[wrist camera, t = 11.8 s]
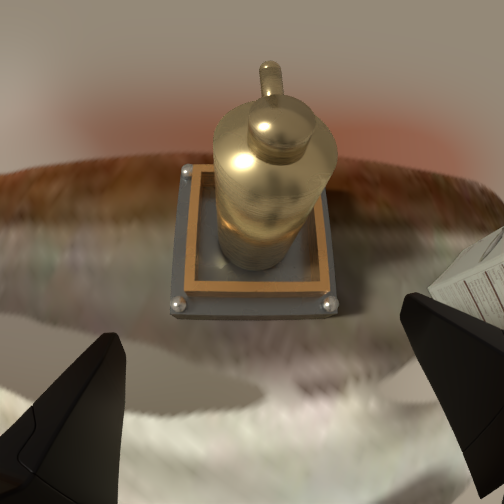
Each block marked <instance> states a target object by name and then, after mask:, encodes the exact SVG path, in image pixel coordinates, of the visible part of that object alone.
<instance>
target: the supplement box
mask: <svg viewBox="0 0 504 504" xmlns="http://www.w3.org/2000/svg"><path fill="white" fill-rule="evenodd" d="M428 290H429V292H430V294H431V296H432V298H433V299H434V300H436V301H439V302H441V303H443V304H446V305H448V306H450V307H453V308H455V309H457V310H460V311H462V312H464V313H467V314H469V315H471V316H473V317H476V318H478V319H480V320H483V321H485V322H487V323H489V324H492V325H494V326H496V327H498V328H500V329H503V330H504V226H503V227H502V228H500V229H498V230H497V231H495V232H493V233H492V234H490V235H488V236H487V237H485V238H483V239H481V240H480V241H478V242H476V243H474V244H472V245H471V246H469V247H467V248H465V249H464V250H463V251H462V252H461V253H460V255H459V256H458V257H457V258H456V260H455V261H454V262H453V263H452V264H451V265H450V266H449V267H448V268H447V270H446V271H445V272H444V273H443V274H442V275H441V276H440V277H439V278H438V279H437V280H436V281H435V282H434V283H432V284H431V285H430V286H429V287H428Z"/></svg>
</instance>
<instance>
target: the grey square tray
mask: <svg viewBox="0 0 504 504" xmlns="http://www.w3.org/2000/svg"><path fill="white" fill-rule="evenodd" d="M338 306H339V301H338V299H337V295H336V282H335V270H334V259H333V248H332V239H331V230H330V221H329V213H328V205H327V198H326V190H325V187H324V189H323V191H322V193H321V195H320V196H319V198H318V200H317V202H316V203H315V205H314V207H313V209H312V210H311V212H310V214H309V216H308V217H307V219H306V221H305V223H304V224H303V226H302V228H301V230H300V231H299V233H298V235H297V237H296V238H295V240H294V242H293V243H292V245H291V247H290V249H289V250H288V252H287V254H286V255H285V257H284V258H283V259H282V260H281V261H280V262H279V263H278V264H276V265H275V266H273V267H271V268H268V269H265V270H258V271H253V270H247V269H243V268H240V267H238V266H236V265H235V264H233V263H232V262H231V261H230V260H228V258H227V257H226V256H225V255H224V253H223V252H222V250H221V248H220V245H219V240H218V227H217V210H216V193H215V174H214V165H192V164H186V165H184V166H183V167H182V169H181V179H180V187H179V196H178V206H177V216H176V226H175V238H174V250H173V265H172V281H171V301H170V314H171V315H172V316H174V317H175V318H177V319H192V320H301V319H325V318H327V317H330V316H332V315H335V314H338V310H337V308H338Z"/></svg>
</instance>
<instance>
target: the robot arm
mask: <svg viewBox="0 0 504 504" xmlns="http://www.w3.org/2000/svg"><path fill="white" fill-rule="evenodd" d="M400 321H401V323H402V325H403V328H404V330H405V332H406V334H407V337H408V339H409V341H410V344H411V346H412V349H413V351H414V353H415V355H416V357H417V359H418V361H419V363H420V365H421V367H422V369H423V371H424V373H425V375H426V376H427V379H428V380H429V382H430V384H431V386H432V388H433V390H434V392H435V394H436V396H437V398H438V400H439V402H440V404H441V406H442V409H443V411H444V413H445V415H446V417H447V419H448V421H449V423H450V426H451V428H452V430H453V432H454V434H455V437H456V439H457V441H458V444H459V446H460V448H461V451H462V452H463V456H464V458H465V461H466V463H467V466H468V468H469V471H470V473H471V476H472V478H473V481H474V484H475V486H476V489H477V492H478V495H479V497H480V499H482V498H484V497H485V496H487V495H488V494H490V493H491V492H493V491H494V490H496V489H497V488H499V487H500V486H501V485H503V484H504V330H503V329H500V328H498V327H496V326H494V325H492V324H489V323H487V322H485V321H483V320H480V319H478V318H476V317H473V316H471V315H469V314H467V313H464V312H462V311H460V310H457V309H455V308H453V307H450V306H448V305H446V304H443V303H441V302H439V301H436V300H434V299H432V298H429V297H427V296H425V295H422V294H420V293H417V292H415V293H410V294H407V295H406V296H405V298H404V301H403V305H402V309H401V312H400ZM125 380H126V354H125V351H124V349H123V346H122V344H121V341H120V339H119V336H118V335H117V333H115V332H112V333H103V334H102V335H101V336H100V337H99V338H98V339H97V340H96V341H95V342H94V343H93V344H91V345H90V346H89V347H88V348H87V349H86V351H84V352H83V353H82V354H81V355H80V356H79V357H78V358H77V359H76V360H75V361H74V363H72V364H71V365H70V366H69V367H68V368H67V369H66V370H65V371H64V372H63V373H62V374H61V376H59V378H58V379H56V380H55V382H54V383H53V384H52V385H51V386H50V387H49V388H48V389H47V390H46V391H45V392H44V393H43V394H42V395H41V396H40V397H39V398H38V399H37V400H36V401H35V402H34V403H33V406H30V407H29V409H28V410H27V411H26V412H25V413H24V414H23V415H22V416H21V417H20V418H19V419H18V420H17V421H16V422H15V423H14V424H13V425H12V426H11V427H10V428H9V429H8V430H7V431H6V432H5V433H3V434H2V435H1V436H0V504H118V478H119V461H120V448H121V437H122V427H123V418H124V409H125ZM502 504H504V496H503V500H502Z"/></svg>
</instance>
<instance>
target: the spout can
mask: <svg viewBox="0 0 504 504" xmlns="http://www.w3.org/2000/svg"><path fill="white" fill-rule="evenodd" d="M259 74H260V84H261V94H262V97H261V98H259V99H258V100H256V101H252V102H248V103H245V104H242V105H240V106H238V107H236V108H234V109H232V110H231V111H229V112H228V113H227V114H226V115H225V116H224V117H223V118H222V119H221V120H220V122H219V124H218V125H217V127H216V129H215V132H214V137H213V152H214V174H215V193H216V210H217V227H218V240H219V245H220V248H221V250H222V252H223V253H224V255H225V256H226V257H227V258H228V260H230V261H231V262H232V263H233V264H235V265H236V266H238V267H240V268H243V269H247V270H253V271H258V270H265V269H268V268H271V267H273V266H275V265H276V264H278V263H279V262H280V261H281V260H282V259H283V258H284V257H285V255H286V254H287V252H288V250H289V249H290V247H291V245H292V243H293V242H294V240H295V238H296V237H297V235H298V233H299V231H300V230H301V228H302V226H303V224H304V223H305V221H306V219H307V217H308V216H309V214H310V212H311V210H312V209H313V207H314V205H315V203H316V202H317V200H318V198H319V196H320V195H321V193H322V191H323V189H324V187H325V186H326V184H327V182H328V180H329V179H330V177H331V175H332V173H333V171H334V169H335V167H336V163H337V156H338V152H337V146H336V142H335V139H334V137H333V135H332V133H331V132H330V130H329V129H328V127H327V126H326V125H325V124H324V123H323V122H322V121H321V120H320V119H319V118H318V117H317V116H315V115H314V113H313V112H312V110H311V109H310V108H309V107H308V106H307V105H306V104H305V103H303V102H302V101H300V100H298V99H296V98H294V97H290V96H287V95H284V91H283V83H282V73H281V68H280V66H279V65H278V64H277V63H276V62H274V61H266V62H264V63H263V64H262V65H261V66H260V69H259Z"/></svg>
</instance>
